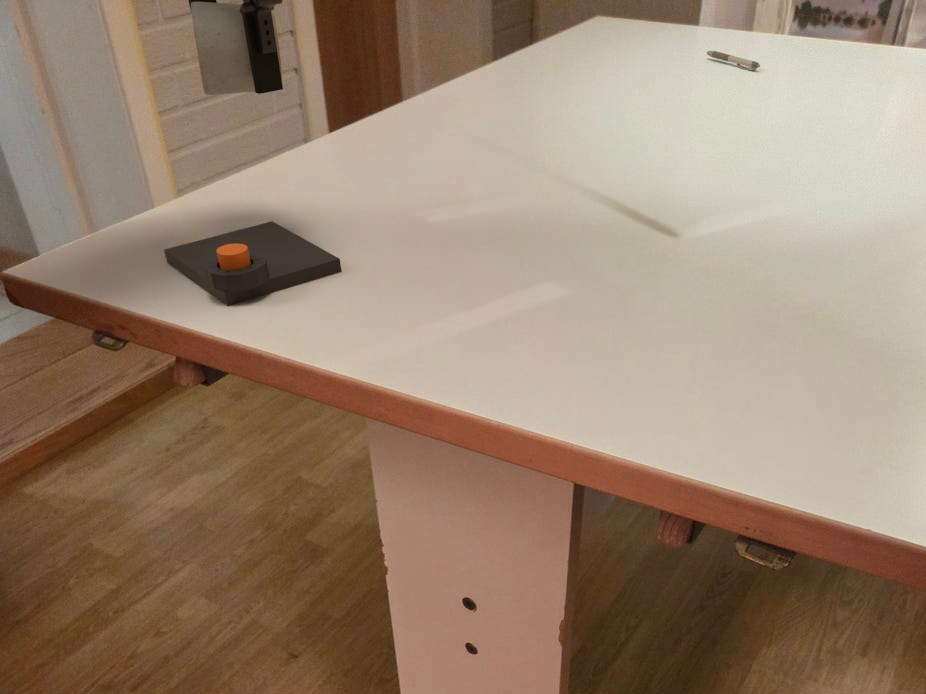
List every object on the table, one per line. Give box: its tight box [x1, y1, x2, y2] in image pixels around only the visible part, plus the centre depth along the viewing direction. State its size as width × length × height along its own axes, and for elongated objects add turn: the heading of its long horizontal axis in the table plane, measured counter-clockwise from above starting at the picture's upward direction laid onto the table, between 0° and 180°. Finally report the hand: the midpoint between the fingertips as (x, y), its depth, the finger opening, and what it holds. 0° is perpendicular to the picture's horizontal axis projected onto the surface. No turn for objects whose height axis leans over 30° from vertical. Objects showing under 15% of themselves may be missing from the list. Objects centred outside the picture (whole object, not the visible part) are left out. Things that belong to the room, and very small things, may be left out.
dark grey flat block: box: [163, 220, 342, 307], centre depth 91 cm, size 16×14×3 cm
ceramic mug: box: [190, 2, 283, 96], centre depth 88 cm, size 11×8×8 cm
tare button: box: [217, 243, 251, 271], centre depth 85 cm, size 3×3×2 cm
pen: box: [706, 50, 761, 71], centre depth 153 cm, size 1×14×1 cm, turn 29°
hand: (242, 81), depth 90 cm, fingers closed on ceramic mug, 11 cm apart
